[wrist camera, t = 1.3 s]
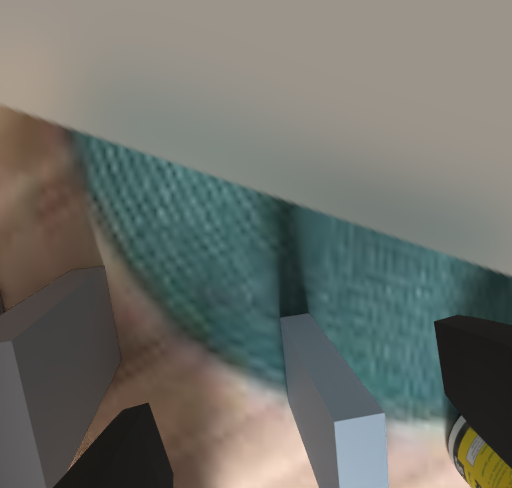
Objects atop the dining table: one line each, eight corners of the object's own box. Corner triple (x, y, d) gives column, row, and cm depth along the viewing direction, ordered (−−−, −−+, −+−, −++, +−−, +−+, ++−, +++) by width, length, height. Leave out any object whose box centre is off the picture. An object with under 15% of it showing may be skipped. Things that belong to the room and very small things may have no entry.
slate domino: (316, 398, 21) (392, 550, 13) (288, 402, 21) (345, 560, 12) (309, 313, 20) (384, 412, 12) (279, 317, 20) (334, 421, 12)
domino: (121, 359, 20) (50, 505, 11) (89, 365, 20) (-10, 516, 11) (104, 265, 19) (11, 341, 10) (70, 270, 19) (-54, 350, 10)
